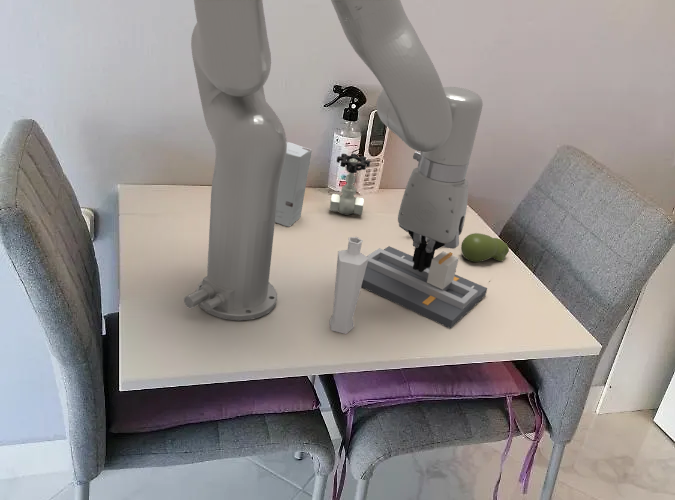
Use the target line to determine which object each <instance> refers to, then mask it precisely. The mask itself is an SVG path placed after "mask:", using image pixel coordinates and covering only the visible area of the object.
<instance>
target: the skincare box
mask: <svg viewBox="0 0 675 500" xmlns="http://www.w3.org/2000/svg"><path fill="white" fill-rule="evenodd" d="M312 152H313V151H312V149H311V148H308V147H305V146H301V145H299V144H296V143H293V142H289V141H287V151H286V158H285V162H284V166H283V170H282V174H281V178H280V183H279V189H278V196H277V205H276V216H275V224H276V223H277V224H279V225H282V226H285V227H291V226H292V225H293V224H295V223H296V222H297V221H298V220H299V219H300V218H301V216H302V211H303V204H304V198H305V192H306V187H307V182H308V181H307V180H308V174H309V169H310V163H311V159H312V157H311V156H312ZM295 221H296V222H295Z"/></svg>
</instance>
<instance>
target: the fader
mask: <svg viewBox="0 0 675 500" xmlns="http://www.w3.org/2000/svg"><path fill="white" fill-rule="evenodd" d="M459 259H460V258H459V257H458V256H455V255H453V252H446V251H441V252H440V253H438V254H437V255H435V256H434V257H433V259H432V262H431V266H430V271H429V275H428V279H427V283H429V284H430V285H433V286H435V287H437V288H439V289H442V290H444V291H446V290H448V289H449V286H450V283H451V282H452V281H453V279H454V275H456V271H457V268H458V263H459Z"/></svg>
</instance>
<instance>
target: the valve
mask: <svg viewBox="0 0 675 500" xmlns="http://www.w3.org/2000/svg"><path fill="white" fill-rule="evenodd" d="M336 163H338V164H339V165H340V167H341V168H345V169H346V171H347V172H348V174H346V176H345V182H346V183H345V184H344V185H343V186H341V191H340V192H341V193H342V194H336V193H332V194H331V197H330V202H329V203H330V204H329V211H330V212H336V213H340V214H342V215H345V216H349V215H352V214H353V215H357V216H358V215H359V216H362V215H363V212H364V202H365V199H364V198H363V197H360V196H359V197H358V196H356V197H355V195H356V194H357V188H356V187H355V185H354V184H355V183H356V175H355V174H356V173H358V171H362V170H363V171H364V170H366V168H368V167H370V165H371V161H370V160H367V157H366V156H365V155H362V156H357V154H356V153H351V154H350V155H348V154H347V153H341V154H340V155H339V156H336Z"/></svg>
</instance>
